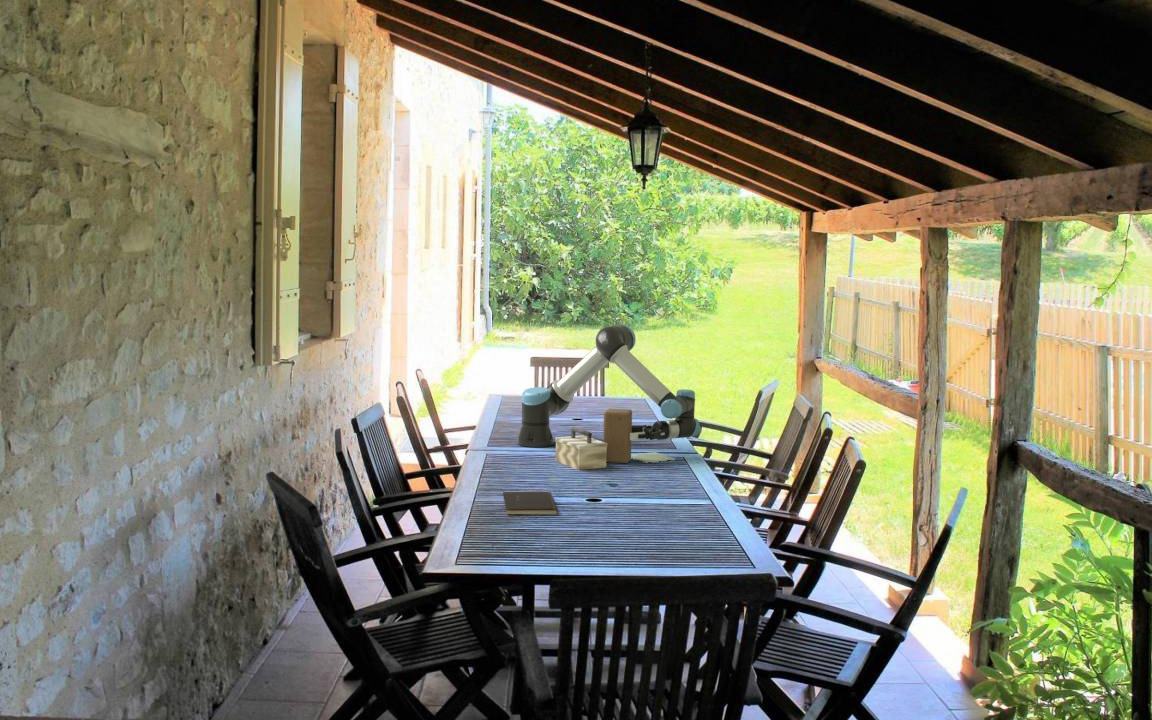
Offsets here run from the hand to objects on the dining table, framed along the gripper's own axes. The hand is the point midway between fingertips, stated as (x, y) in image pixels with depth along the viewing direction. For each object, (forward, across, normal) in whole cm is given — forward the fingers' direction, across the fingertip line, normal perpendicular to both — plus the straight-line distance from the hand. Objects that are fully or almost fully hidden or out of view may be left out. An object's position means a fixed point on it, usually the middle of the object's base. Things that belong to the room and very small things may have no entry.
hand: (620, 433), depth 393 cm
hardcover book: (+64, -46, -12) cm, 80 cm away
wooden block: (+1, 0, -11) cm, 11 cm away
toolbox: (+17, +2, -11) cm, 20 cm away
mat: (-14, -1, -11) cm, 18 cm away
